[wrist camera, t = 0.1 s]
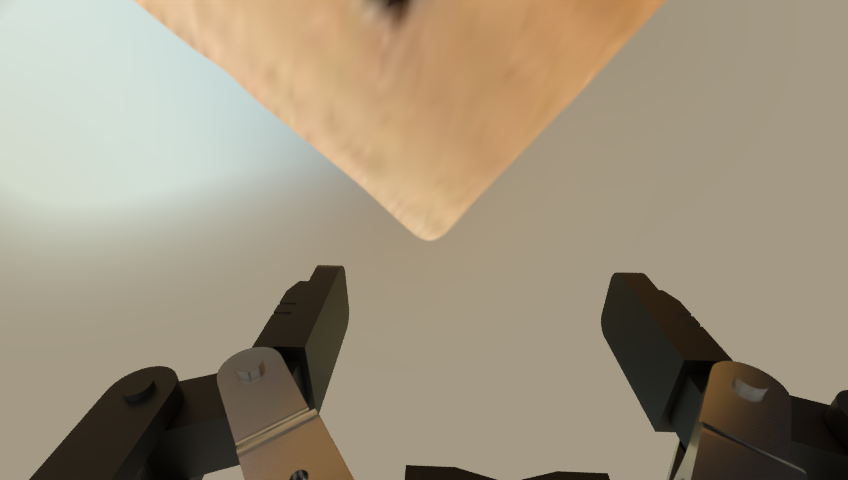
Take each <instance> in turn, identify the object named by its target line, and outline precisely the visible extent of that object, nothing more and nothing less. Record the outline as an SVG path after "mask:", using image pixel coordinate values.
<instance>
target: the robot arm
mask: <svg viewBox="0 0 848 480" xmlns="http://www.w3.org/2000/svg"><path fill="white" fill-rule="evenodd" d="M348 320H349V304H348V295H347V286H346V277H345V270H344V267H343V266H330V265H329V266H328V265H327V266H326V265H318V266H317V267H316V269H315V271H314V273H313V275H312V276H311V278H310V280H309V281H299V282H298V283H297V284H295V285H294V286H292V287H291V288H290V289H289V290H287V291H286V293H285V295H284V296H283V298H282V299H281V301H280V305H278V306H277V308H276V309H275V311H274V314H273V315H272V316H271V317H270V319H269V321H268V322H267V324H266V326H265V327H264V329H263V331H262V332H261V334H260V335H259V337H258V339H257V340H256V342H255V343H254V345H253V347H252V348H250V349H246V350H243V351H241V352H239V353H237V354H235V355H233V356H232V357H230V358H229V359H228V360H227V361H226V362H224V364H223V365H222V366H221V368H220V369H219V371H218V373H216V374H212V375H208V376H203V377H198V378H193V379H189V380H184V381H179V380H178V377H177V375H176V373H175V372H174V371H173V370H172V369H170V368H168V367H164V366H155V367H148V368H144V369H141V370H138V371H135V372H133V373H131V374H129V375H127V376H125V377H124V378H121V379H120V380H119V381H117V382H116V383H114V384H113V385H112V386H111V387H110V388H109V389H108V390H107V391H106V392H105V393H104V394H103V395H102V397H101V398H100V399H99V400H98V401H97V402H96V404H95V405H94V406H93V407H92V408H91V409H90V410H89V412H88V413H87V414H86V415H85V416H84V417H83V419H82V420H81V421H80V422H79V423H78V424H77V425H76V427H75V428H74V429H73V430H72V431H71V432H70V433H69V435H68V436H67V437H66V438H65V439H64V440H63V441H62V443H61V444H60V445H59V446H58V447H57V448H56V450H55V451H54V452H53V453H52V454H51V455H50V456H49V457H48V459H47V460H46V461H45V462H44V463H43V464H42V466H41V467H40V468H39V469H38V470H37V471H36V473H35V474H34V475H33V476H32V477H31V478H30V479H29V480H202V478H203V476H204V474H207V473H211V472H215V471H218V470H222V469H226V468H229V467H233V466H237V465H241V469H242V472H243V476H244V479H245V480H354V479H353V476H352V475H351V473H350V471H349V469H348V467H347V465H346V464H345V462H344V460H343V458H342V456H341V454H340V452H339V451H338V449H337V447H336V445H335V443H334V441H333V439H332V438H331V436H330V434H329V432H328V430H327V428H326V427H325V425H324V423H323V421H322V419H321V417H320V415H319V412H320V409H321V406H322V403H323V400H324V397H325V394H326V391H327V388H328V385H329V382H330V378H331V375H332V372H333V369H334V366H335V363H336V360H337V357H338V354H339V351H340V348H341V345H342V341H343V339H344V336H345V332H346V330H347V326H348ZM601 326H602V332H603V335H604V337H605V339H606V341H607V343H608V344H609V346H610V348H611V350H612V352H613V353H614V356H615V357H616V359H617V361H618V363H619V365H620V367H621V369H622V370H623V372H624V374H625V376H626V378H627V380H628V381H629V383H630V385H631V387H632V389H633V391H634V393H635V394H636V396H637V398H638V400H639V402H640V404H641V406H642V408H643V409H644V411H645V413H646V415H647V417H648V419H649V421H650V422H651V424H652V426H653V428H654V430H655V431H656V432H676V434H677V436H678V437H679V441H678V444H677V446H676V448H675V451H674V455H673V459H672V462H671V465H670V469H669V472H668V476H667V480H848V390H844V391H841V392H839V393H838V394H837V396H836V397H835V399H834V400H833V402H832V403H831V405H827V404H822V403H818V402H815V401H810V400H807V399H802V398H799V397H795V396H791V395H789V393H788V392H787V390H786V389H785V387H784V386H783V385H782V384H781V383H779V382H778V381H777V380H776V379H775V378H773V377H772V376H770V375H769V374H767V373H765V372H764V371H762V370H760V369H758V368H755V367H753V366H750V365H747V364H744V363H740V362H734V361H733V360H732V359H731V358H730V357H729V356H728V355H727V354H726V352H724V350H723V349H722V348H721V347H720V346H719V345H718V344H717V342H716V341H715V340H714V339H713V338H712V337H711V336H710V335H709V333H708V332H707V331H706V330H705V329H704V328H703V327H700V324H699V322H698V321H697V320H696V319H695V318H694V317H693V316H691V313H690V312H689V311H688V310H687V309H686V308H685V307H684V306H683V305H682V303H681V302H680V301H678V300H677V299H675V298H674V297H672V296H671V295H669V294H668V293H666V292H664V291H663V290H658V289H657V288H656V287H655V285H654V284H653V283H652V282H651V281H650V279H649V278H648V277H647V276H646V275H645V274H643V273H614V274H613V276H612V278H611V281H610V285H609V289H608V292H607V296H606V300H605V304H604V308H603V312H602V316H601ZM405 480H496V479H493V478H489V477H486V476H482V475H479V474H476V473H472V472H469V471H466V470H462V469H459V468H456V467H435V466H411V465H406V471H405ZM523 480H610V479H609V476H608V474H607V473H584V472H560V471H557V472H553V473H548V474H544V475H540V476H536V477H532V478H527V479H523Z"/></svg>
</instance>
